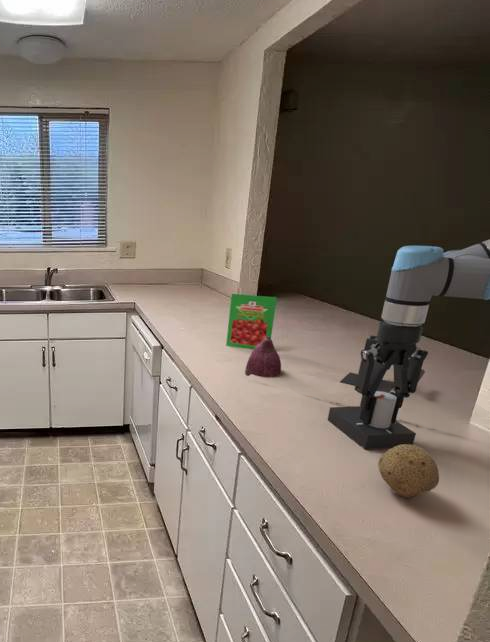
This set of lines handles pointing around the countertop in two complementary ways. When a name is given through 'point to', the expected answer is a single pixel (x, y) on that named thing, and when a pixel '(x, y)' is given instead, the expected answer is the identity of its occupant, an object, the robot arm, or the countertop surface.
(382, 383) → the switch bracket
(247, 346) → the tomato puree packet
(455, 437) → the countertop surface
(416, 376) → the robot arm
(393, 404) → the timer knob
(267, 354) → the vegetable
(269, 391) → the countertop surface
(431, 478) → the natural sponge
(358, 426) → the timer panel
